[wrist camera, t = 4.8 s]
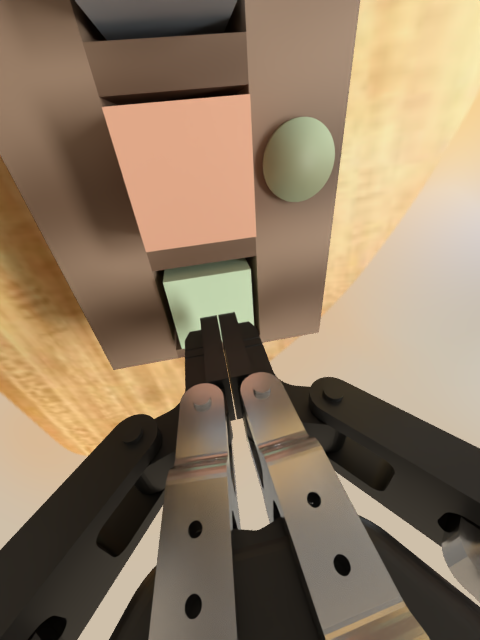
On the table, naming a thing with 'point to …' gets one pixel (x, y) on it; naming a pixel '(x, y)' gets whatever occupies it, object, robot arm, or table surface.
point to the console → (170, 85)
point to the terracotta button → (187, 169)
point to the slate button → (157, 17)
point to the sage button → (208, 293)
